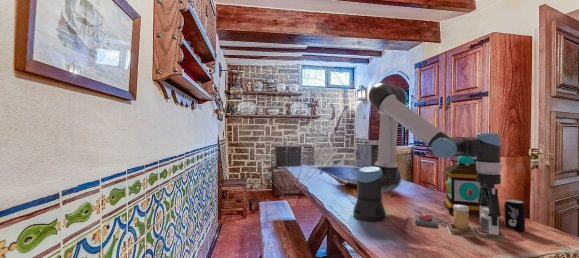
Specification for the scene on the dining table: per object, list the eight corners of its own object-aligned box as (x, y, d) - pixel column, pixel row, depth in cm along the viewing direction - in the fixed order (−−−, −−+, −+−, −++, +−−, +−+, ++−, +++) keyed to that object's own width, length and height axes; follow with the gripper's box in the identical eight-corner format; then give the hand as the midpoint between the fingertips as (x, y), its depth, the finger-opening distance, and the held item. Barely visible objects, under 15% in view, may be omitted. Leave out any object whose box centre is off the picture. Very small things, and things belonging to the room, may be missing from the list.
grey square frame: (415, 227, 114) (415, 220, 114) (415, 221, 121) (415, 215, 121) (436, 230, 110) (436, 223, 111) (435, 224, 118) (435, 217, 118)
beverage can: (528, 232, 108) (528, 203, 108) (510, 231, 109) (510, 202, 109) (518, 227, 114) (518, 199, 115) (501, 226, 116) (500, 198, 116)
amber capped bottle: (454, 232, 105) (454, 207, 105) (452, 228, 110) (452, 204, 110) (470, 234, 103) (470, 208, 103) (467, 230, 107) (467, 205, 108)
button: (420, 224, 115) (420, 215, 115) (420, 221, 118) (420, 212, 118) (430, 226, 113) (430, 216, 113) (430, 223, 117) (430, 214, 117)
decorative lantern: (446, 215, 130) (446, 154, 131) (440, 205, 149) (440, 151, 149) (496, 220, 123) (496, 155, 123) (483, 209, 141) (483, 152, 142)
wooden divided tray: (449, 237, 103) (449, 230, 103) (446, 228, 112) (446, 222, 113) (507, 245, 96) (507, 237, 96) (499, 235, 105) (499, 228, 105)
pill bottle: (497, 238, 98) (497, 212, 99) (479, 235, 102) (479, 209, 102) (498, 234, 103) (498, 209, 103) (481, 231, 106) (480, 206, 106)
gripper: (511, 178, 90) (512, 241, 90) (491, 169, 112) (491, 219, 112) (484, 177, 93) (485, 237, 93) (470, 168, 116) (470, 217, 115)
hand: (488, 228), depth 102 cm, fingers open, 13 cm apart
